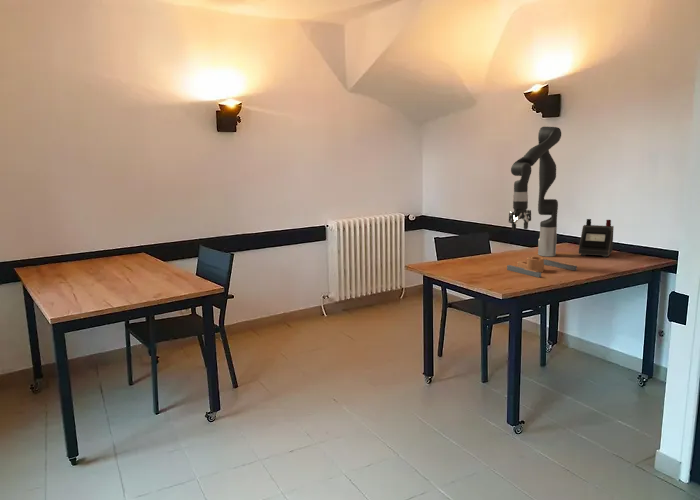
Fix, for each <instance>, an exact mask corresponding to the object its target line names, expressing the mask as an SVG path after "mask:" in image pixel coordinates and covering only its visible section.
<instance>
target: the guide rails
mask: <svg viewBox="0 0 700 500" xmlns="http://www.w3.org/2000/svg"><path fill="white" fill-rule="evenodd" d="M544 266H548V267H549V266H550V267H555V268H559V269H565V270H568V271H573V272H575V271H576V272H577V271H578V265H575V264H573V263H567V262H563V261H556V260H555V261H554V260H549V259H545V258H544ZM506 270H507V271H510V272H513V273H514V272H515V273H519V274H522V275H526V276H530V277H536V278H542V272H538V271H536V270H532V269H527V268H520V267H517V265H516V266H515V265H512V264H507V265H506Z"/></svg>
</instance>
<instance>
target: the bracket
mask: <svg viewBox="0 0 700 500" xmlns="http://www.w3.org/2000/svg"><path fill="white" fill-rule="evenodd" d="M526 259H527V260H519V261H517V263H516V267H520V268H527V269H532V270H536V271H538V272H541V273H543V272H544V270H545V267H544V266H545V265H544V259H545V258H544V256H531V257H530V256H528V257H527V258H526Z"/></svg>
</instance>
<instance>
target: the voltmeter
mask: <svg viewBox="0 0 700 500" xmlns="http://www.w3.org/2000/svg"><path fill="white" fill-rule="evenodd" d="M605 221H606V223H605V225H595V224H594V225H593V224H592V219H590V218H586V223H585V224H584V225H582V228H581V229H582V230H581V234H580V241H579V244H578V245H579V246H578V255H580V256H581V257H585V256H586V255H592V256H594V255H595V256H602V258H605V259H606V258H607V257H608V256H610V254H611V253H612V252H613V245H614V225H612V220H611V219H606V220H605Z"/></svg>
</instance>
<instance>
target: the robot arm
mask: <svg viewBox="0 0 700 500" xmlns="http://www.w3.org/2000/svg"><path fill="white" fill-rule="evenodd" d="M561 138H562V130H561V128H560V127H557V126H542V127H540V128H539V131H538V143H537V144H536V145H535V146H533V147H531V148H530V149H529V150H528V151H527V152H526V153H525V154H524V155H523V156H522V157H520V158H518V159H517V160H516V161H515V162H513V164H511V165H512V166H511V167H510V172H511V174H512V175H513V176H515V177H520V179H518V180H516V181H514V184H513V194H512V197H513V199H512V209H513V211H509V212H508V223H509V224H511V230H512V231H513V232H514V231H515V232H516V230H517V223H518V221H519V220H523V230H528V228H529V222H531V221H532V210H531V209H528V206H529V205H528V203H529V202H528V199H529V195H528V194H529V193H528V188H529V187H528V184H529V181H530V178H531V174H532V167H533V166H534V165H535V164H536V163H537V162H538V161H539V166H538V179H539V180H538V184H539V185H538V186H539V189H538V201H537V202H538V203H537V211H538V214H539V215H540V216H550V217H549V218H547V219H544V220H541V221H540V223H539V238H538V244H537V255H539V257H555V256H556V255H557V236H558V235H557V229H558V228H557V227H558V223H557V222H558V212H559V211H558V210H559V201H558V200H557V199H556V198H555V199H554V198H552V199H551V198H546V199H545V196H546V194H547V192H548V191H549V190H550V188H551V186H552V184H553V183H554V182H555V180H556V178H557V164H556V162H555V160H554V159H553V157H552V155H551V153H550V151H549V150H551V149H552V148H553V147H554V146H555V145H557V144H558V143H559V142H560V141H561Z"/></svg>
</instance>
